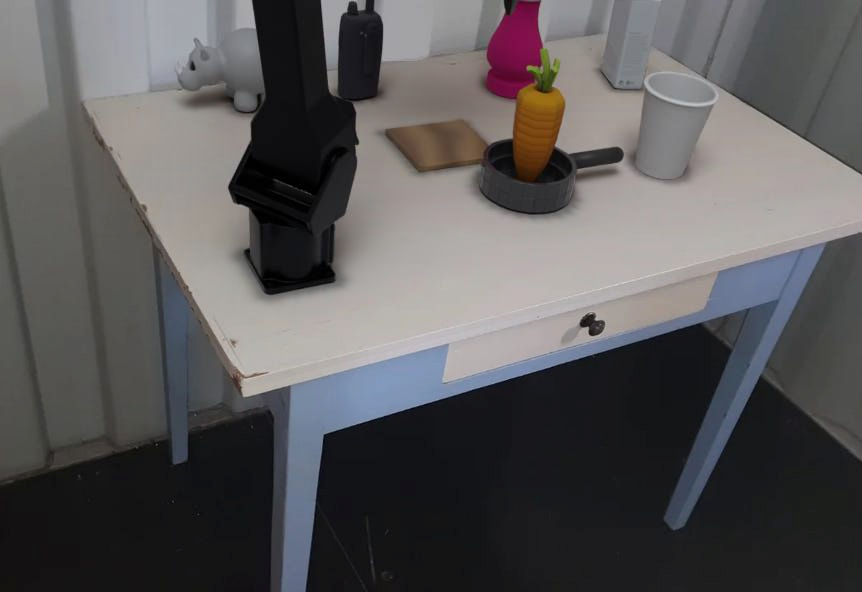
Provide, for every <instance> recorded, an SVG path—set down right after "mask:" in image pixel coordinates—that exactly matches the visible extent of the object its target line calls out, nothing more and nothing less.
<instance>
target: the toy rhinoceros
mask: <svg viewBox="0 0 862 592" xmlns="http://www.w3.org/2000/svg"><path fill="white" fill-rule="evenodd" d="M193 42H194V44H195V47H194V48H193V49H192V51H191V52H190V53H188V54H189V55H188V61H187V63H182V67H181V66H180V65H179V64H180V63H179V61H178V59H176V60H175V62H174V64H173V70H174V72H175V74H176V76H177V82H178V84H179V86H180V87H181V88H182V89H183V90H185V91H187V92H197V91H199V90H200V89H201V88H203V87H205V86H214V85H217V84H219V83H220V82H224V83H225V93H226V96H228V97H230V98H231V99H233V105H234V108H235V110H237V111H240V112H243V113H244V112H245V113H249V112H253V111H255V110H256V109H258V108H257V107H258V104H259V103H258V97H260V99H259V100H260V104H261V103H262V102H263V100H264V98H265V89H264V82H263V75H262V68H261V61H260V54H259V47H258V40H257V33H256V28H255V27H241V28H236V29H234V30H232V31H231V32H229V33H228V34H226V35H225V36H224V37H223V38H222V40H221V41H220V43H219V45H218V47H216V48H214V47H212V46H209V45H203V44H202V42H201V41H200V39H198V38H197V37H194V38H193ZM259 95H260V96H259Z"/></svg>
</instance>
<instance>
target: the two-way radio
mask: <svg viewBox="0 0 862 592" xmlns="http://www.w3.org/2000/svg"><path fill="white" fill-rule="evenodd" d="M338 28H339V29H338V37H337V39H338V40H337V44H338V45H337V46H338V50H337V51H338V52H337V93H338V95H339V96H341V97H342V98H344V99H348V100H357V99H365V98H369V97H374V96H376V95H377V94H378V92H379V85H380V84H379V83H380V75H381V68H382V67H381V66H382V59H383V47H384V46H383V45H384V22H383V20H382V16H381V15H380V14H379V13H378V12H377V11H376V10H375V0H365V6H364V9H360V10H359V8H358V3H357V2H356V1H354V0H351V1H349V2H348V5H347V9H346V11H345V12H343V13H342V14H341V16H340V20H339V27H338Z"/></svg>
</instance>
